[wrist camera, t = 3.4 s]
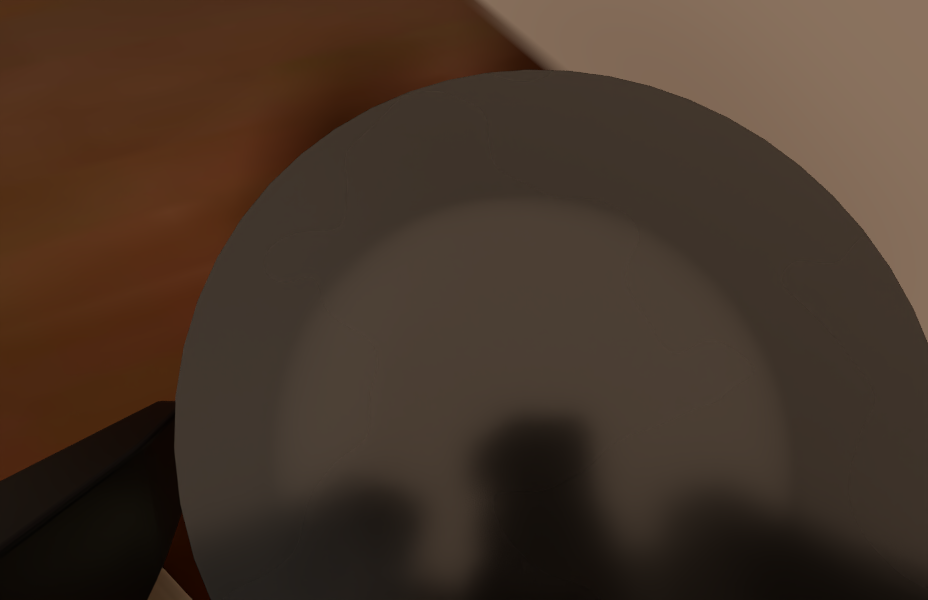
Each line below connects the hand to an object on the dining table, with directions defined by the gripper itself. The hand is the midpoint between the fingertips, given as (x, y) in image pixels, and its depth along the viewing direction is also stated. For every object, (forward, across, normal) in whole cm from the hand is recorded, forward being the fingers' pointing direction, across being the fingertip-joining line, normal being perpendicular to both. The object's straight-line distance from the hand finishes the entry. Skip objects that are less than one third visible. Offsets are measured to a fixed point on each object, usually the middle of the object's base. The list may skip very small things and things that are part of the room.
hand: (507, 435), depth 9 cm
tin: (+5, 0, +6) cm, 8 cm away
